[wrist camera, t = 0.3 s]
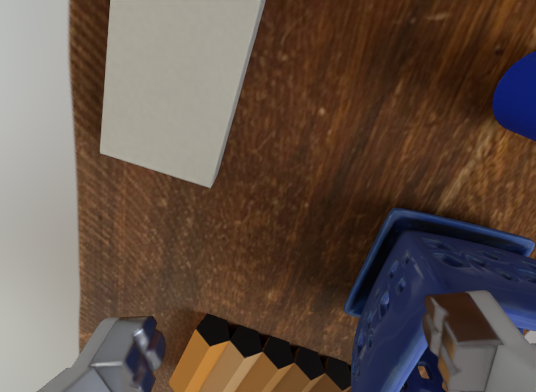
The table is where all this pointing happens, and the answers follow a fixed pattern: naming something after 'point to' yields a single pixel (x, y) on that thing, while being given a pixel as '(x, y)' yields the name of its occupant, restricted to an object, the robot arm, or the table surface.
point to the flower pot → (429, 292)
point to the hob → (175, 82)
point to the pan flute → (252, 364)
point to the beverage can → (518, 98)
